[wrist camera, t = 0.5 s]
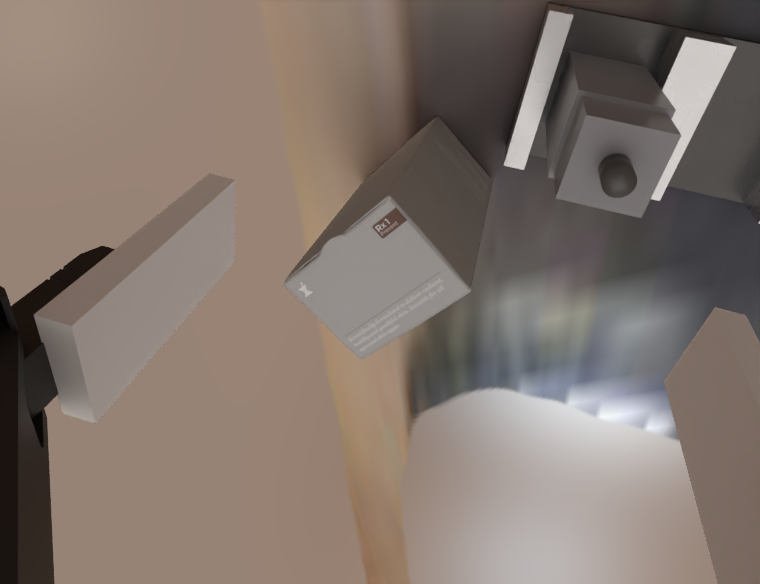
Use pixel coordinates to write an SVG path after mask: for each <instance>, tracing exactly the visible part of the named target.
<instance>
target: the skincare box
mask: <svg viewBox="0 0 760 584" xmlns="http://www.w3.org/2000/svg"><path fill="white" fill-rule="evenodd" d="M491 187H492V179H491V178H490V177H489V176H488V175H487V173H486V172H485V171H484V170H483V169H482V167H481V166H480V165H479V164H478V163H477V162H476V160H475V159H474V158H473V157H472V156H471V155H470V153H469V152H468V151H467V150H466V149H465V147H464V146H463V145H462V144H461V142H460V141H459V140H458V139H457V138H456V136H455V135H454V134H453V133H452V132H451V130H450V129H449V128H448V127H447V126H446V124H445V123H444V122H443V121H442V120H441V119H440V117H438V116H437V117H435V118H434V119H433V120H432V121H430V122H429V123H428V124H427V125H426V126H425V127H424V128H422V129H421V130H420V131H419V132H418V133H416V134H415V135H414V136H413V137H412V138H411V139H410V140H408V141H407V142H406V143H405V144H404V145H403V146H402V147H401V148H400V149H398V150H397V151H396V152H395V153H394V154H393V155H392V156H391V157H390V158H389V159H388V160H387V161H386V162H384V163H383V164H382V165H381V166H380V167H379V168H378V169H377V170H376V171H375V172H374V173H372V174H371V175H370V176H369V177H368V178H367V179H366V180H365V181H364V182H363V183H362V184H361V185H360V186H359V188H358V189H357V190H356V191H355V193H354V194H353V195H352V196H351V198H350V199H349V200H348V201H347V203H346V204H345V205H344V206H343V208H342V209H341V210H340V212H339V213H338V214H337V215H336V216H335V218H334V219H333V220H332V221H331V223H330V224H329V225H328V227H327V228H326V229H325V230H324V232H323V233H322V234H321V235H320V236H319V238H318V239H317V240H316V241H315V243H314V244H313V245H312V246H311V248H310V249H309V250H308V251H307V253H306V254H305V255H304V256H303V258H302V259H301V260H300V262H299V263H298V264H297V265H296V267H295V268H294V269H293V270H292V272H291V273H290V274H289V276H288V277H287V278H286V280H285V282H284V286H285V287H286V288H287V289H288V290H289V291H290V292H292V293H293V294H294V295H295V296H296V297H297V298H298V299H299V300H300V301H301V302H302V303H303V304H304V305H305V306H306V307H307V308H308V309H309V310H311V312H312V313H314V315H316V316H317V317H318V318H319V319H320V320H321V321H322V322H323V323H324V324H325V325H326V326H327V327H328V329H329V330H330V331H331V332H332V333H333V334H334V335H335V336H336V337H337V338H338V339H339V340H340V341H341V342H342V343H343V344H344V345H345V346H346V347H347V348H348V349H349V350H350V351H352V352H353V353H354V354H355V355H356V356H357V357H358V358H359V359H364V358H365V357H367V356H368V355H370V354H372V353H373V352H375V351H377V350H378V349H380V348H382V347H383V346H385V345H387V344H388V343H390V342H392V341H393V340H395V339H396V338H398V337H400V336H401V335H403V334H405V333H406V332H408V331H410V330H411V329H413V328H415V327H416V326H418V325H419V324H421V323H423V322H424V321H426V320H427V319H429V318H430V317H432V316H434V315H435V314H437V313H438V312H440V311H441V310H443V309H445V308H446V307H448V306H449V305H451V304H452V303H454V302H455V301H457V300H459V299H460V298H462V297H463V296H465V295H466V294H468V293H469V292H471V285H472V280H473V275H474V270H475V264H476V259H477V255H478V250H479V245H480V240H481V235H482V231H483V226H484V221H485V216H486V212H487V206H488V202H489V196H490V192H491Z"/></svg>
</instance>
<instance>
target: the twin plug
mask: <svg viewBox="0 0 760 584" xmlns="http://www.w3.org/2000/svg"><path fill="white" fill-rule="evenodd" d="M675 111H676V109H675V108H674V107H673V105H672V104H671V102H670V101H669V99H668V98H667V97H666V95H665V94H664V92H663V91H662V90H661V88H660V87H659V85H658V84H657V82H656V81H655V80H654V78H653V77H652V75H651V74H650V72H649V71H648V70H647V68H646V67H645V66H641V65H636V64H631V63H626V62H621V61H617V60H612V59H607V58H602V57H597V56H592V55H587V54H582V53H577V52H572V51H569V54H568V57H567V60H566V63H565V66H564V69H563V72H562V75H561V78H560V81H559V85H558V88H557V91H556V94H555V97H554V100H553V103H552V106H551V109H550V112H549V115H548V118H547V121H546V148H547V175H548V178H553V179H554V182H555V198H556V199H561V200H565V201H569V202H574V203H578V204H582V205H587V206H591V207H595V208H600V209H604V210H608V211H613V212H617V213H621V214H626V215H630V216H634V217H638V218H642V215H643V213H644V211H645V209H646V207H647V205H648V203H649V201H650V199H651V197H652V195H653V193H654V191H655V189H656V187H657V185H658V183H659V181H660V179H661V177H662V174H663V172H664V170H665V168H666V166H667V164H668V162H669V160H670V158H671V156H672V154H673V152H674V150H675V148H676V146H677V144H678V142H679V140H680V138H681V136H682V135H681V134H680V132H679V130H678V129H677V127H676V126H675V124H674V123H673V121H672V117H673V115H674V113H675Z"/></svg>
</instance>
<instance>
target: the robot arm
mask: <svg viewBox="0 0 760 584" xmlns="http://www.w3.org/2000/svg"><path fill="white" fill-rule="evenodd" d="M234 262H235V180H232V179H228V178H224V177H221V176H217V175H213V174H208V175H207V176H206V177H204V178H203V179H202V180H201V181H199V182H198V183H197V184H196V185H194V186H193V187H192V188H191V189H190V190H188V191H187V192H186V193H184V194H183V195H182V196H181V197H180V198H178V199H177V200H176V201H175V202H173V203H172V204H171V205H170V206H168V207H167V208H166V209H165V210H163V211H162V212H161V213H160V214H158V215H157V216H156V217H155V218H153V219H152V220H151V221H150V222H148V223H147V224H146V225H145V226H143V227H142V228H141V229H140V230H138V231H137V232H136V233H135V234H133V235H132V236H131V237H130V238H129V239H127V240H126V241H125V242H124V243H122V244H121V245H120V246H119V247H118V248H116V249H111V248H109V247H105V246H100V247H98V248H95V249H93V250H90V251H88V252H85V253H82V254H80V255H79V256H77V257H76V258H75V259H73V260H72V261H71V262H69V263H68V264H67V265H65V266H64V268H63V270H62V269H60V270H59V271H57V272H56V273H55V274H53V275H52V276H51V277H50V280H45V281H44V282H43V283H42V284H40V285H39V286H37V287H36V288H35V289H33V290H32V291H31V292H30V293H28V294H27V295H25V296H24V297H23V298H21V299H20V300H19V301H17V302H16V303H15V304H13V305H12V306H10V303H9V299H8V297H7V294H6V291H5V289H4V288H3V287H1V286H0V584H54V566H53V544H52V520H51V499H50V475H49V453H48V431H47V417H46V414H45V410H44V407H46V406H47V405H48V404H49V403H50V402H51V400H52V399H54V397H56V395H57V396H58V399H59V403H60V406H61V409H62V413H64V414H67V415H70V416H73V417H76V418H80V419H83V420H86V421H89V422H92V423H96V422H97V421H98V420H99V419H100V418H101V417H102V415H103V414H104V413H105V412H106V411H107V410H108V408H109V407H110V406H111V405H112V404H113V403H114V401H115V400H116V399H117V398H118V397H119V396H120V394H121V393H122V392H123V391H124V390H125V389H126V387H127V386H128V385H129V384H130V383H131V382H132V381H133V379H134V378H135V377H136V376H137V375H138V374H139V372H140V371H141V370H142V369H143V368H144V367H145V365H146V364H147V363H148V362H149V361H150V360H151V358H152V357H153V356H154V355H155V354H156V353H157V352H158V350H159V349H160V348H161V347H162V345H164V343H165V342H166V341H167V340H168V339H169V338H170V336H171V335H172V334H173V333H174V332H175V331H176V329H177V328H178V327H179V326H180V325H181V324H182V322H183V321H184V320H185V319H186V318H187V317H188V316H189V314H190V313H191V312H192V311H193V309H195V307H196V306H197V305H198V304H199V303H200V302H201V300H202V299H203V298H204V297H205V296H206V294H207V293H208V292H209V291H210V290H211V288H213V286H214V285H215V284H216V283H217V282H218V281H219V279H220V278H221V277H222V276H223V275H224V274H225V272H226V271H227V270H228V269H229V268H230V267H231V265H232V264H233V263H234ZM664 383H665V387H666V391H667V394H668V398H669V402H670V406H671V409H672V413H673V417H674V421H675V424H676V428H677V432H678V436H679V439H680V443H681V447H682V451H683V454H684V458H685V462H686V465H687V469H688V473H689V477H690V481H691V484H692V488H693V492H694V496H695V500H696V503H697V507H698V511H699V514H700V518H701V522H702V526H703V530H704V533H705V537H706V541H707V545H708V549H709V552H710V556H711V560H712V564H713V567H714V571H715V574H716V579H717V582H718V584H760V342H759V340H758V338H757V336H756V334H755V332H754V330H753V329H752V327H751V325H750V323H749V321H748V319H747V317H746V315H743V314H739V313H735V312H731V311H728V310H724V309H720V308H716V307H715V308H714V310H713V311H712V312H711V314H710V315H709V317H708V318H707V320H706V321H705V323H704V324H703V325H702V327H701V328H700V330H699V331H698V333H697V334H696V336H695V337H694V338H693V340H692V341H691V343H690V344H689V346H688V347H687V349H686V350H685V351H684V353H683V354H682V356H681V357H680V359H679V360H678V362H677V363H676V364H675V366H674V367H673V369H672V370H671V372H670V373H669V375H668V376H667V377H666V379H665V380H664Z"/></svg>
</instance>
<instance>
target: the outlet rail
mask: <svg viewBox="0 0 760 584" xmlns="http://www.w3.org/2000/svg"><path fill="white" fill-rule="evenodd" d="M569 51H572V52H577V53H582V54H587V55H592V56H597V57H602V58H607V59H612V60H617V61H621V62H626V63H631V64H636V65H641V66H645V67H646V68H647V70H648V71H649V72H650V74H651V75H652V77H653V78H654V80H655V81H656V82H657V84H658V85H659V87H660V88H661V90H662V91H663V92H664V94H665V95H666V97H667V98H668V99H669V101H670V102H671V104H672V105H673V107H674V108H675V109H676V111H675V113H674V115H673V117H672V121H673V123H674V124H675V126H676V127H677V129H678V130H679V132H680V134H681V135H682V136H681V138H680V140H679V142H678V144H677V146H676V148H675V150H674V152H673V154H672V156H671V158H670V160H669V162H668V164H667V166H666V168H665V170H664V172H663V174H662V177H661V179H660V181H659V183H658V185H657V187H656V189H655V191H654V193H653V195H652V197H651V199H653V200H658V201H660V199H661V197H662V195H663V193H664V191H665V189H666V187H667V186H670V187H674V188H679V189H683V190H688V191H692V192H697V193H701V194H706V195H710V196H715V197H719V198H723V199H728V200H732V201H737V202H741V203H744V204H745V205H746V207H747V208H748V210H749V211H750V212H751V214H752V215H753V217H754V218H755V219H756V221H757V222H758V223H759V224H760V43H758V42H753V41H748V40H743V39H738V38H732V37H727V36H722V35H717V34H712V33H707V32H701V31H696V30H691V29H686V28H681V27H675V26H670V25H665V24H660V23H655V22H650V21H644V20H639V19H634V18H629V17H624V16H619V15H613V14H608V13H603V12H598V11H593V10H588V9H582V8H577V7H572V6H567V5H562V4H556V3H551V2H548V5H547V9H546V12H545V16H544V19H543V22H542V26H541V29H540V33H539V36H538V40H537V43H536V46H535V50H534V53H533V57H532V60H531V63H530V67H529V70H528V74H527V77H526V81H525V84H524V87H523V91H522V94H521V98H520V101H519V105H518V108H517V111H516V115H515V118H514V122H513V125H512V128H511V132H510V135H509V139H508V142H507V146H506V152H505V159H504V166H508V167H513V168H517V169H521V170H524V168H525V165H526V162H527V159H528V155H532V156H536V157H541V158H545V159H547V148H546V121H547V118H548V115H549V112H550V109H551V106H552V103H553V100H554V97H555V94H556V91H557V88H558V85H559V81H560V78H561V75H562V72H563V69H564V66H565V63H566V60H567V57H568V54H569Z"/></svg>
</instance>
